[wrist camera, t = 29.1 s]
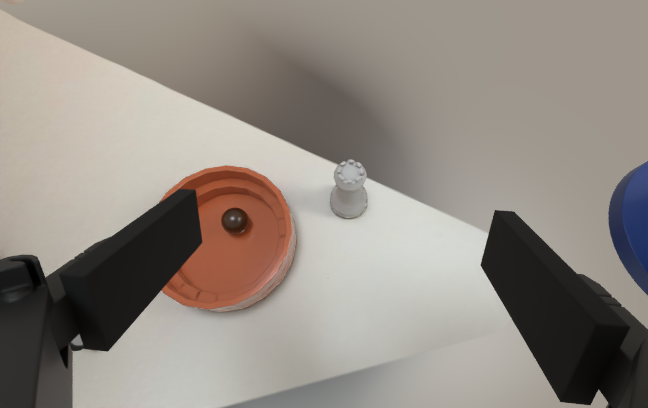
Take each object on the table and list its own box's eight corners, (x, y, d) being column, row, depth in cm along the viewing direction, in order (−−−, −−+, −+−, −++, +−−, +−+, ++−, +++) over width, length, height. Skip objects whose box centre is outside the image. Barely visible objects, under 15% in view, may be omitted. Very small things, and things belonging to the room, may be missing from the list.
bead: (245, 241, 38) (254, 217, 39) (239, 231, 35) (250, 206, 36) (220, 234, 38) (230, 211, 39) (213, 224, 35) (224, 199, 37)
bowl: (319, 214, 39) (317, 200, 35) (252, 338, 35) (240, 338, 30) (213, 165, 42) (200, 146, 38) (138, 272, 38) (113, 264, 33)
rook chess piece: (355, 178, 41) (358, 143, 33) (374, 208, 39) (382, 178, 32) (323, 195, 40) (319, 163, 33) (341, 226, 39) (341, 199, 31)
